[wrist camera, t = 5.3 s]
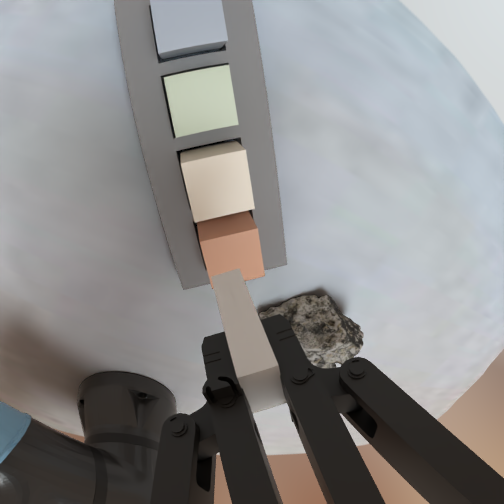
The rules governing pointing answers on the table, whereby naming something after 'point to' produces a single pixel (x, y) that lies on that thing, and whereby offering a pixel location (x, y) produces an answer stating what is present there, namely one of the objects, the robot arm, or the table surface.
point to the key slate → (188, 26)
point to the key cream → (217, 180)
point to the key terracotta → (231, 245)
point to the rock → (320, 329)
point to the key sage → (201, 100)
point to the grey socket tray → (167, 145)
